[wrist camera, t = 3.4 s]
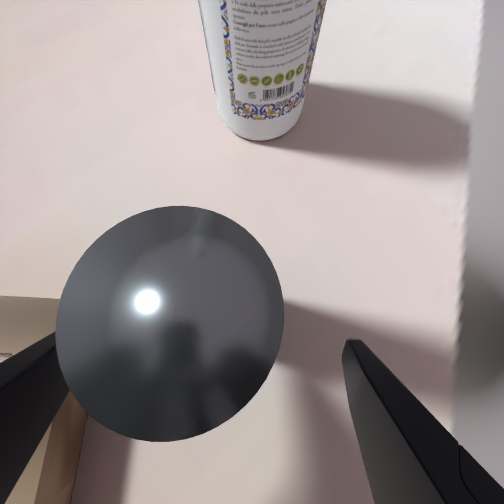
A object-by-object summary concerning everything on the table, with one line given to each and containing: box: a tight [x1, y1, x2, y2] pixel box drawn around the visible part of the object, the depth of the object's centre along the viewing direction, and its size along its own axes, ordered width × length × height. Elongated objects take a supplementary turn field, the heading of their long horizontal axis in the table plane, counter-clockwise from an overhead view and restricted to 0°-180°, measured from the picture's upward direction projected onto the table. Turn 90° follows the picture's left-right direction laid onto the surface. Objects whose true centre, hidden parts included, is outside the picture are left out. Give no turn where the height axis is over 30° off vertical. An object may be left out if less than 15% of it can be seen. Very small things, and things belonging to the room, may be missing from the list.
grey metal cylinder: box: [55, 206, 284, 442], centre depth 11 cm, size 4×4×13 cm
